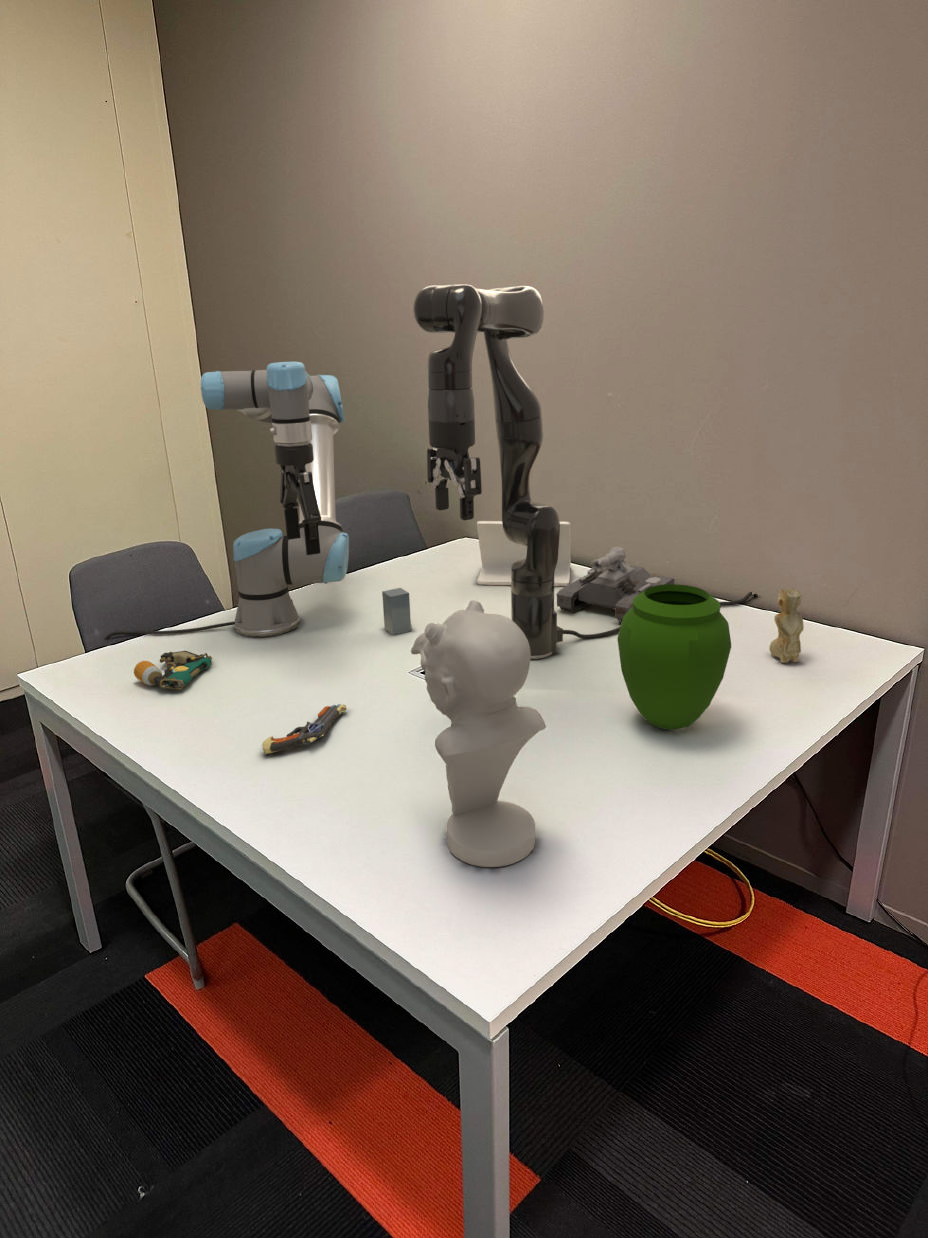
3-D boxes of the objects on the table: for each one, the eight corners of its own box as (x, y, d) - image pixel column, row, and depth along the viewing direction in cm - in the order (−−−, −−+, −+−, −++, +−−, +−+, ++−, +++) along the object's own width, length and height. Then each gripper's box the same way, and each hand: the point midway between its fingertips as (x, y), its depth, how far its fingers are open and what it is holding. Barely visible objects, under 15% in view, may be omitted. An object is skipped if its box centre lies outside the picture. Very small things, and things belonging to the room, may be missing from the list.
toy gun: (257, 744, 147) (311, 741, 145) (297, 702, 165) (346, 699, 162) (260, 758, 147) (314, 756, 145) (300, 715, 165) (349, 712, 163)
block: (402, 625, 205) (400, 587, 202) (411, 631, 202) (409, 592, 198) (384, 629, 203) (382, 591, 200) (392, 635, 199) (390, 596, 196)
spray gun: (177, 659, 191) (231, 671, 185) (120, 684, 176) (176, 698, 171) (176, 641, 190) (230, 653, 184) (118, 665, 175) (174, 678, 169)
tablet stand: (569, 585, 229) (570, 524, 223) (476, 584, 232) (475, 523, 226) (570, 566, 246) (571, 508, 240) (484, 564, 249) (483, 507, 243)
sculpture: (791, 651, 184) (798, 585, 178) (805, 664, 177) (813, 596, 172) (764, 652, 183) (771, 586, 178) (777, 666, 177) (784, 597, 171)
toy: (603, 584, 229) (605, 530, 224) (673, 597, 218) (677, 540, 213) (555, 612, 210) (556, 553, 205) (630, 627, 199) (633, 566, 194)
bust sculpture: (481, 772, 140) (476, 569, 128) (565, 848, 120) (569, 617, 108) (392, 800, 134) (378, 588, 121) (465, 886, 114) (457, 642, 101)
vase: (737, 711, 158) (749, 586, 150) (704, 757, 143) (715, 621, 134) (638, 689, 168) (643, 571, 160) (597, 730, 153) (601, 602, 144)
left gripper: (258, 436, 179) (269, 535, 186) (293, 454, 158) (303, 563, 165) (293, 433, 182) (302, 530, 189) (331, 450, 161) (340, 557, 169)
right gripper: (411, 414, 143) (415, 509, 148) (452, 423, 131) (455, 526, 137) (450, 410, 146) (453, 503, 152) (494, 419, 134) (495, 519, 140)
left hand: (303, 546), depth 177 cm, fingers open, 13 cm apart
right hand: (454, 514), depth 144 cm, fingers open, 8 cm apart
